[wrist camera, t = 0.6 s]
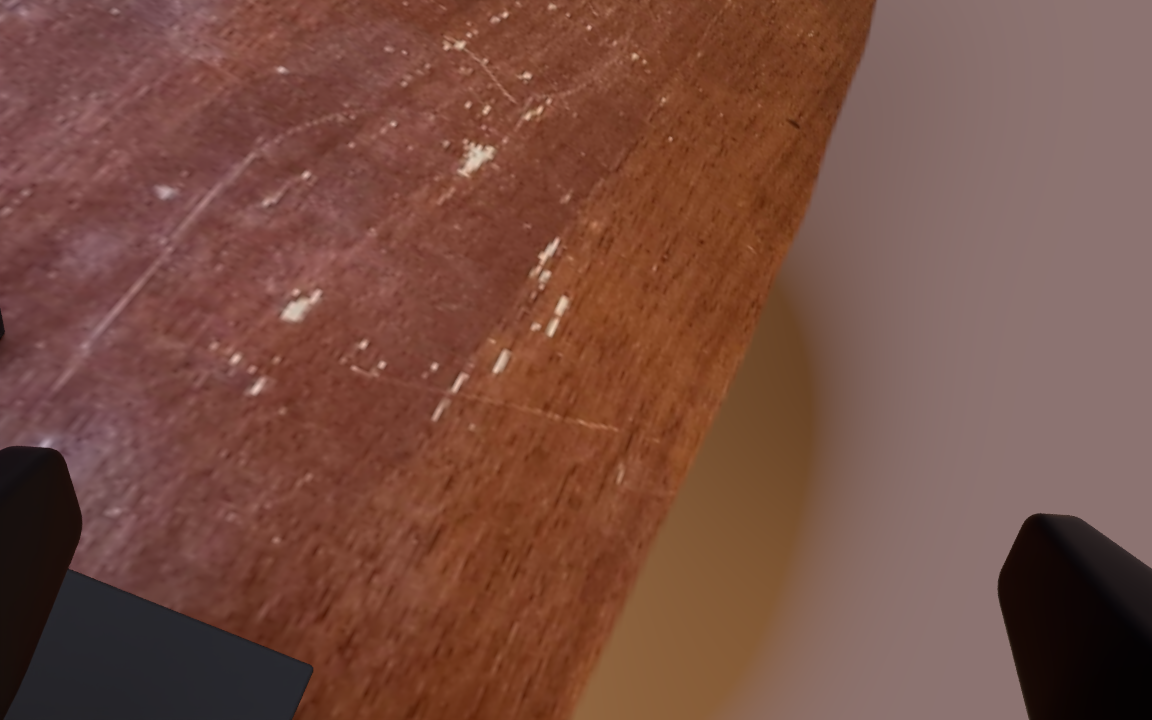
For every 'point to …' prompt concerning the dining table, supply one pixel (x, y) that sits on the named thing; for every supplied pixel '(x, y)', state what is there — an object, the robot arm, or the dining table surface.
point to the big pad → (1, 326)
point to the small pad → (149, 664)
